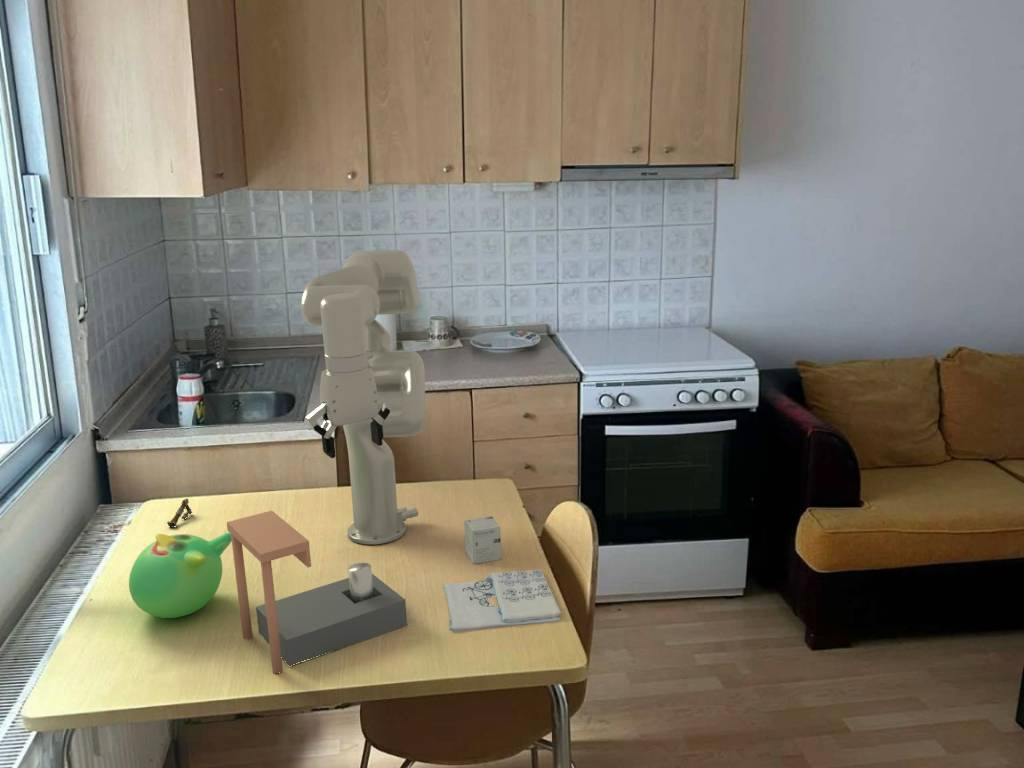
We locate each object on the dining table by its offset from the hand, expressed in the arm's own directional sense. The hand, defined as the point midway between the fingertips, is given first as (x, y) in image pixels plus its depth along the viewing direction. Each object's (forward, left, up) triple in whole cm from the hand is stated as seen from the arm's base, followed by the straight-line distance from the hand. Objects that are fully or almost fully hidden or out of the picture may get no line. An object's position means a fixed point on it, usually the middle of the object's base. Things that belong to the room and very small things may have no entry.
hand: (354, 449), depth 178 cm
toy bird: (+32, -11, -27) cm, 43 cm away
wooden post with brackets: (+20, -53, -28) cm, 63 cm away
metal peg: (+7, +13, -27) cm, 31 cm away
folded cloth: (-16, +23, -28) cm, 40 cm away
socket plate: (+13, +13, -27) cm, 33 cm away
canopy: (+23, +13, -27) cm, 38 cm away
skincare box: (-24, +5, -27) cm, 37 cm away
